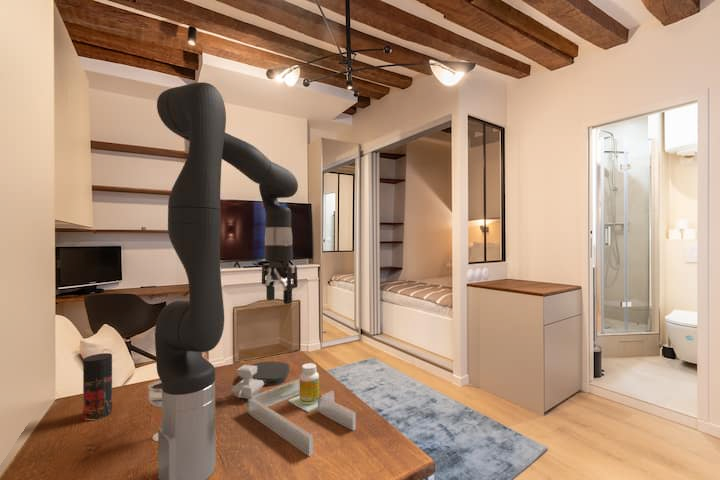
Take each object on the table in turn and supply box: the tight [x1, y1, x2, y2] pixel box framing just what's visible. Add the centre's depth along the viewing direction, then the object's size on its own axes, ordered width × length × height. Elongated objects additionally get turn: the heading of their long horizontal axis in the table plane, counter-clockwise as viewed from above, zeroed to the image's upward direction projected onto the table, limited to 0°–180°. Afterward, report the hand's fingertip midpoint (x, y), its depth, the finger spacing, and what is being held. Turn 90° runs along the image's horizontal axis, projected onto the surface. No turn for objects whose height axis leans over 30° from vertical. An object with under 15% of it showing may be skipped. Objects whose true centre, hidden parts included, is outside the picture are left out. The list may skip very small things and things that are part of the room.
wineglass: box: [147, 378, 162, 442], centre depth 78 cm, size 7×7×12 cm
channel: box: [246, 378, 357, 457], centre depth 85 cm, size 18×26×4 cm
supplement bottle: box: [299, 362, 320, 405], centre depth 94 cm, size 5×5×10 cm
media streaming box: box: [239, 361, 290, 387], centre depth 112 cm, size 15×15×3 cm
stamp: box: [231, 364, 264, 400], centre depth 97 cm, size 9×7×8 cm
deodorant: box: [82, 352, 113, 420], centre depth 87 cm, size 6×6×15 cm
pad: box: [287, 394, 318, 413], centre depth 93 cm, size 7×9×1 cm
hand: (278, 301), depth 94 cm, fingers open, 8 cm apart
